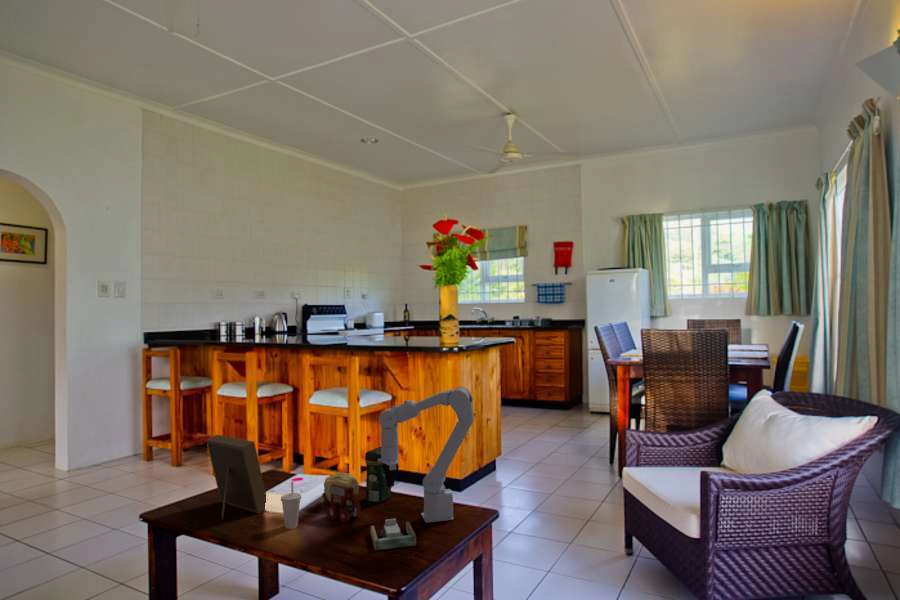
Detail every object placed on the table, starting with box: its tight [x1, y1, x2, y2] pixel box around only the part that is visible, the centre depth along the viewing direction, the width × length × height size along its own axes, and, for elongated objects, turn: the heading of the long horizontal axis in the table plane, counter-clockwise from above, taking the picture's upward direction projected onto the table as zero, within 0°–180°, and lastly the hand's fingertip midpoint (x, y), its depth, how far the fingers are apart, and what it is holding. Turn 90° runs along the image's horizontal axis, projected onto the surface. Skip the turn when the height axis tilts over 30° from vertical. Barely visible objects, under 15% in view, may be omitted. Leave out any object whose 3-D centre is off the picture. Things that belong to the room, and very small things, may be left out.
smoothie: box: [280, 481, 302, 530], centre depth 170 cm, size 6×6×14 cm
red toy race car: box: [326, 484, 362, 523], centre depth 177 cm, size 7×12×10 cm, turn 59°
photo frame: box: [205, 434, 267, 520], centre depth 185 cm, size 15×22×25 cm
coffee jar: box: [364, 446, 392, 504], centre depth 195 cm, size 10×8×19 cm
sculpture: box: [323, 472, 360, 503], centre depth 192 cm, size 11×12×11 cm
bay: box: [370, 521, 417, 551], centre depth 159 cm, size 12×12×2 cm
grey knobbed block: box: [381, 518, 404, 538], centre depth 159 cm, size 6×7×4 cm
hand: (390, 486), depth 178 cm, fingers closed
